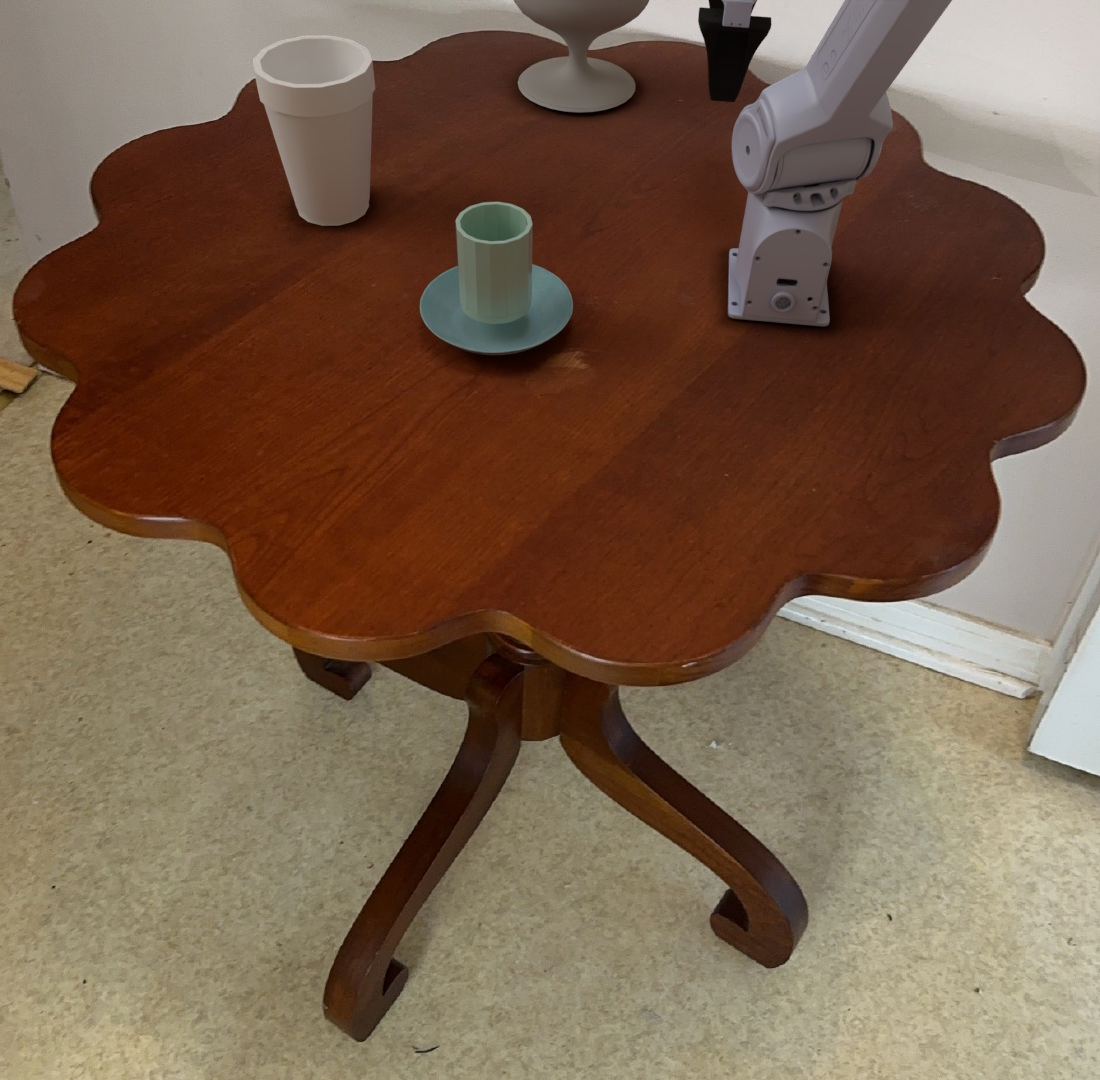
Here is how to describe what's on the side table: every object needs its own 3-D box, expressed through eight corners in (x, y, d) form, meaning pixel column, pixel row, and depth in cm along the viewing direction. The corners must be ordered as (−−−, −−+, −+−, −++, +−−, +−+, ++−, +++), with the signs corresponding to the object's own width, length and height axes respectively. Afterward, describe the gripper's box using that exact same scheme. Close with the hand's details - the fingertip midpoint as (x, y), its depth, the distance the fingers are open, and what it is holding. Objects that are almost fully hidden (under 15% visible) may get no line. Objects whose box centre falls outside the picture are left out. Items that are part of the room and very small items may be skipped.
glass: (539, 288, 85) (540, 208, 80) (520, 329, 82) (520, 248, 77) (472, 276, 86) (469, 196, 81) (450, 317, 83) (445, 236, 77)
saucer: (519, 394, 80) (519, 370, 79) (390, 339, 84) (388, 315, 83) (599, 313, 87) (601, 289, 85) (477, 266, 91) (476, 242, 89)
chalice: (496, 63, 116) (494, -92, 105) (622, 52, 119) (633, -100, 108) (525, 127, 107) (526, -35, 96) (661, 113, 110) (678, -46, 98)
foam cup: (331, 168, 101) (311, 25, 92) (408, 200, 98) (395, 55, 88) (256, 212, 96) (227, 65, 86) (334, 248, 92) (313, 99, 83)
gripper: (698, -135, 87) (679, 37, 97) (692, -67, 78) (672, 115, 88) (787, -129, 87) (759, 43, 97) (792, -60, 77) (760, 122, 87)
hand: (723, 78), depth 92 cm, fingers open, 7 cm apart
